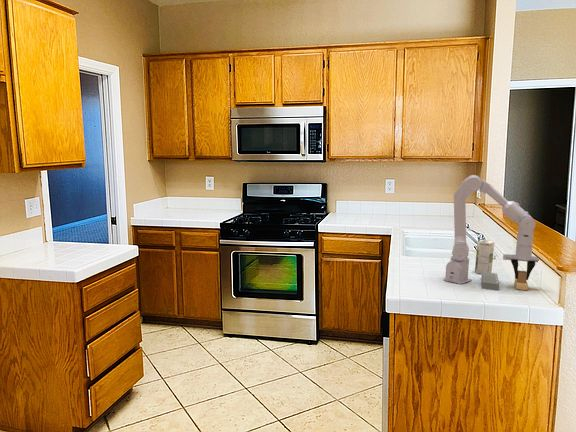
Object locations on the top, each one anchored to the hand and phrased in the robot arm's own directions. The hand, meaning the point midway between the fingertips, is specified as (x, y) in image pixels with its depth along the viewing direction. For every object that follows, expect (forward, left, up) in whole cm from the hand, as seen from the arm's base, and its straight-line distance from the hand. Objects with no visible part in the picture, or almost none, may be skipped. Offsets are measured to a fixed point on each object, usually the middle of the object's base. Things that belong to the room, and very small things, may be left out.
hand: (521, 278), depth 187 cm
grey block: (-5, +10, -3) cm, 12 cm away
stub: (0, 0, -3) cm, 3 cm away
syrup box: (+10, +21, -4) cm, 23 cm away
